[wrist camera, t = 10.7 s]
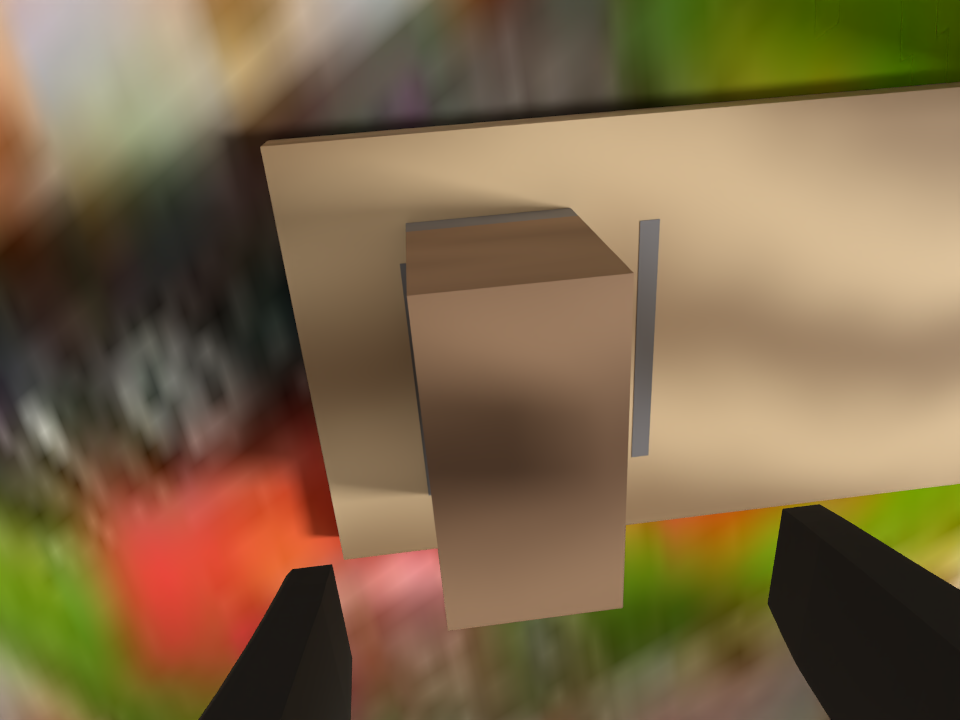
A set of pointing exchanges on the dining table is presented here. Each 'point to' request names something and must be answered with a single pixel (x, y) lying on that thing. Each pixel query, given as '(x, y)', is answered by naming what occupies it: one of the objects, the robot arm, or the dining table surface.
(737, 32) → the dining table surface
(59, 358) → the dining table surface
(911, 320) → the pine board
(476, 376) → the block
